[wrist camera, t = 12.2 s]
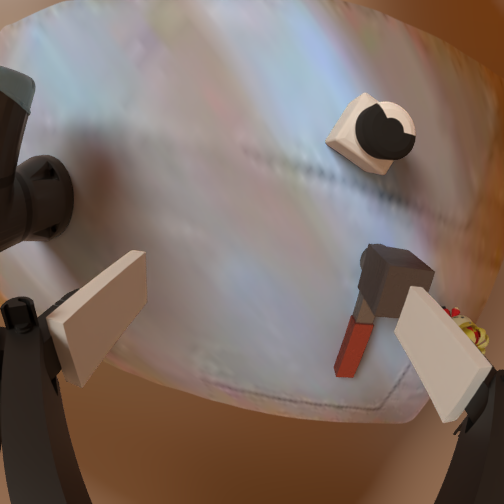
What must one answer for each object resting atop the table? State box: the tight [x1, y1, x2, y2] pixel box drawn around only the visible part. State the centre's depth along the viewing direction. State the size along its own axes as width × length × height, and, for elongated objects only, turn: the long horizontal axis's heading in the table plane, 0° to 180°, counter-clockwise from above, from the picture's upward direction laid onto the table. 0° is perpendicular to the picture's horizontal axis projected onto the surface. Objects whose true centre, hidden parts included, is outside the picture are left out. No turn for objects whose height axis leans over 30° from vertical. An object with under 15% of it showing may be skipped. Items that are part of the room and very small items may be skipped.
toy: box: [442, 307, 489, 354], centre depth 35 cm, size 7×7×15 cm
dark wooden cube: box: [358, 244, 435, 318], centre depth 33 cm, size 6×6×8 cm
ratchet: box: [334, 244, 385, 378], centre depth 39 cm, size 23×5×8 cm, turn 173°
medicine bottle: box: [325, 93, 416, 175], centre depth 29 cm, size 7×7×12 cm
